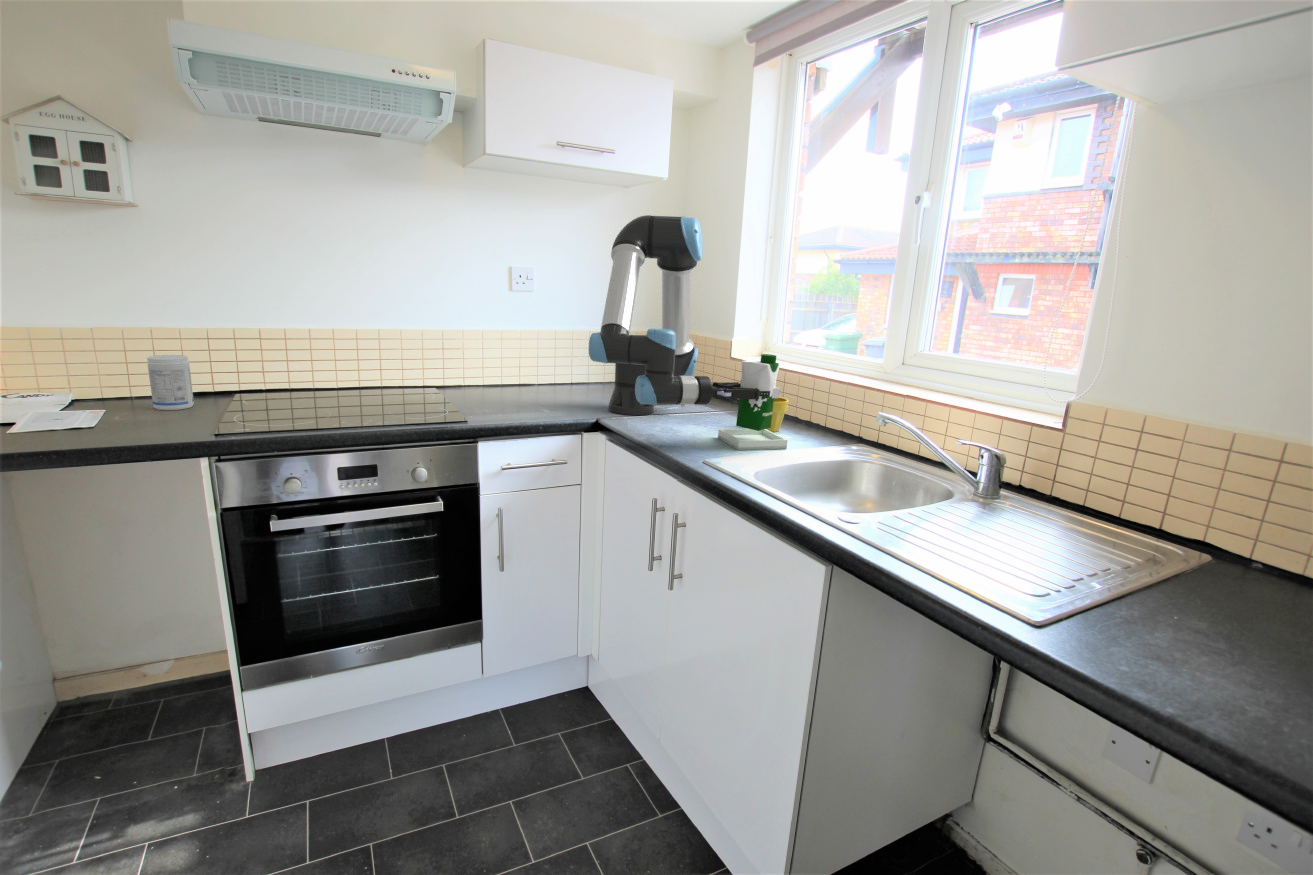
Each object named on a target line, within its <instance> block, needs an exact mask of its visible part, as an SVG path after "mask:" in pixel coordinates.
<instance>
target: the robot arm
mask: <svg viewBox="0 0 1313 875" xmlns="http://www.w3.org/2000/svg"><path fill="white" fill-rule="evenodd" d="M610 258H611V259H612V266H611V272H610V278H609V282H608V288H607V294H606V300H605V304H604V310H603V315H602V320H601V325H600V332H599V331H598V332H592V333H591V334H590V336H589V339H588V356H589V359H590V360H591V361H592V362H596V363H602V364H615V366H614V368H615V369H614V389H613V391H612V394H611V397H610V399H609V402H608V411H609V412H611V413H614V414H619V415H628V416H629V415H630V416H644V415H651V414H653V413H654V412H655V406H660V405H661V406H662V405H676V406H677V405H680V406H681V407H682V408H684V407H685V405H695V406H697V405H698V406H700V405H701V406H702V405H703V406H704V405H705V406H706V405H709V404H710V403H711V400H712V398H715V399H717V400H722V399H723V400H739V399H756V401H758V399H759V396H770V391H760V390H759V389H758V388H756V389H753V388H740V387H741V381H740V382H739V381H736V382H735V381H734V382H733V381H732V382H731V381H730V382H725V381H724V382H719V381H718V382H717V381H714V382H713V381H711V378H710V377H709V376H708V375H707V376H705V375H704V376H703V375H696V376H694V375H695V372H696V366H697V360H698V355H699V348H698V347H695V343H694V341H693V339H691V338H690V332H691V331H690V329H691V327H690V326H691V323H690V322H691V300H692V299H691V295H692V292H691V291H692V271H693V270H694V269H696V267H697V264H698V262H699V261H701V260H702V258H703V236H702V227H701V223H700V221H699V220H698V219H697V218H695V217H686V216H683V215H682V216H670V215H669V216H666V215H664V216H663V215H652V214H651V215H650V214H649V215H648V214H646V215H640V216H637V217H636V218H633V219H632V220H631V221H629V222H628V223H626V224H625V226H624V227H623V228H622V229H621V230H620V231H619V233H618V234H617V235H616V237H615V239H614V242H613V244H612V248H611V252H610ZM646 259H656V262H657V263H656V266H657V267H658V268H659V269H660V270H661V275H662V276H661V281H662V282H661V283H662V285H661V286H662V287H661V289H662V290H661V295H662V296H661V306H662V307H661V310H662V311H661V315H662V316H661V323H662V324H661V328H649V329H647V331H646V334H645V335H643V334H630V330H631V326H632V319H633V312H634V307H635V299H636V294H637V293H636V292H637V290H638V289H637V288H638V281H639V276H640V275H639V274H640V271H641V267H642V266H643V265H644V263H645V261H646ZM761 393H762V394H761ZM764 393H765V394H764ZM767 393H768V394H767ZM779 397H781V387H775V388H773V395H772V398H779Z"/></svg>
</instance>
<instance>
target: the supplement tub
mask: <svg viewBox="0 0 1313 875" xmlns="http://www.w3.org/2000/svg"><path fill="white" fill-rule="evenodd" d="M146 359H147V369H148V370H147V371H148V377H149V384H150V385H149V386H150V392H151V399H152V406H153V408H154V409H155V410H160V411H177V410H179V411H180V410H181V411H182V410H186V409H190V408H192V407H193V406H194V404H195V403H194V402H195V401H194V400H195V399H194V393H193V384H192V376H191V369H190V360H189V357H188V356H187V355H183V354H160V355H159V354H158V355H151V356H148V357H147V358H146Z"/></svg>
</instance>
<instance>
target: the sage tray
mask: <svg viewBox="0 0 1313 875" xmlns="http://www.w3.org/2000/svg"><path fill="white" fill-rule="evenodd" d="M717 431H718V433H717V435H718V436H717V438H718V439H720V440H721V441H722V442H725V443H726V444H728V445H729V446H731V447H732V448H734V449H736V450H737V451H757V450H758V451H760V450H761V451H762V450H764V451H765V450H787V449H788V446H787V445H788V439H786V438H784V437H783V436H781V435H778V434H776V432H771V431H769V430H767V429H764V430H760V431H757V430H752V429H748V428H718V430H717Z"/></svg>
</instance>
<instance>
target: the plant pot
mask: <svg viewBox="0 0 1313 875" xmlns="http://www.w3.org/2000/svg"><path fill="white" fill-rule="evenodd" d="M788 408H789V399H788V398H786V397H783V396H782V397H781V396H779V398H774V403H773V412H772V421H771V428H767V430H769V431H771V432H773V433H777V432H779V431H780V430H781V429H780V428H781V425H782V422H783V420H784V417H785V413H786V412H788Z"/></svg>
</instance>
